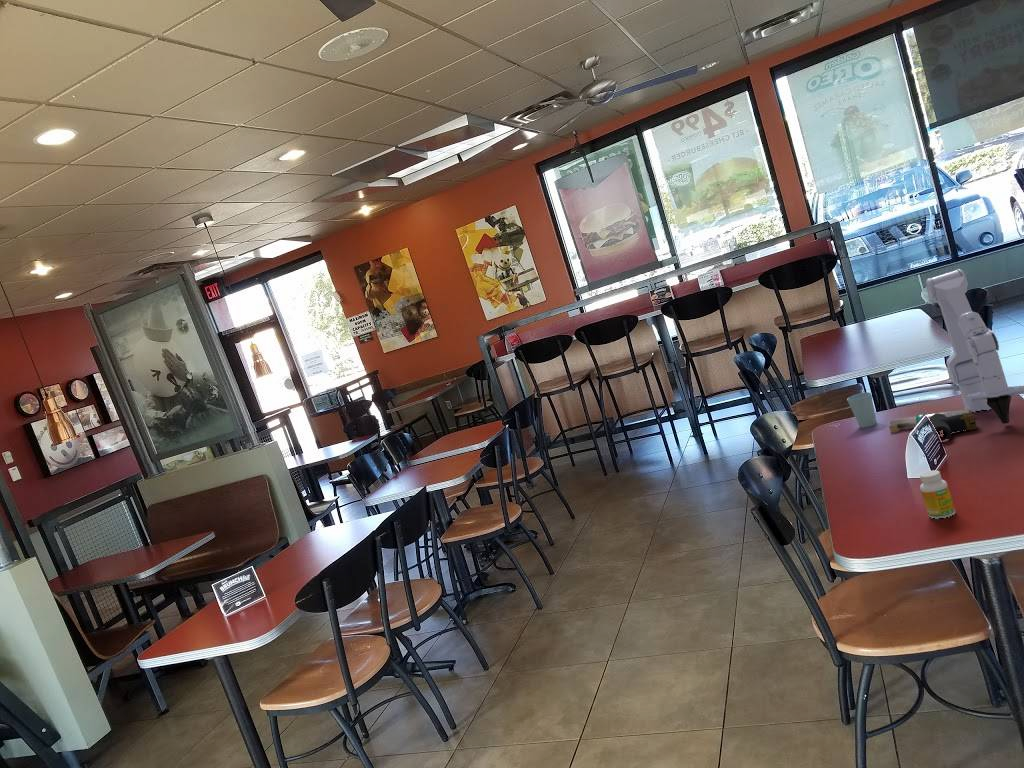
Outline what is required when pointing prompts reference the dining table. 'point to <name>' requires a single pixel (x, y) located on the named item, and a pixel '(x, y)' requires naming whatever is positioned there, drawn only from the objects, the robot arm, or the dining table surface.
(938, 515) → the supplement bottle
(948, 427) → the pipe connector
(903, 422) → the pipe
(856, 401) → the cup
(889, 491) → the dining table surface
